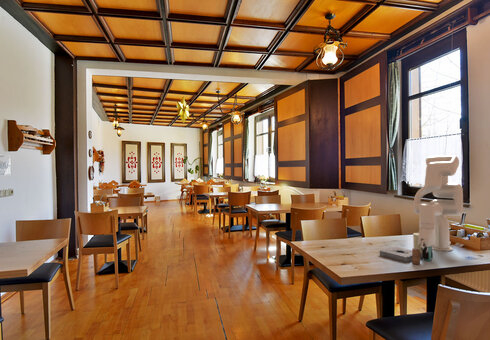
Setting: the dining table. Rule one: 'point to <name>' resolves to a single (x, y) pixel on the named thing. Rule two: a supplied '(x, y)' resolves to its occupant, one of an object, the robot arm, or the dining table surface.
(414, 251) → the walnut peg
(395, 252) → the socket plate
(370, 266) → the dining table surface
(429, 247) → the teal peg
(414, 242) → the can
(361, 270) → the dining table surface
